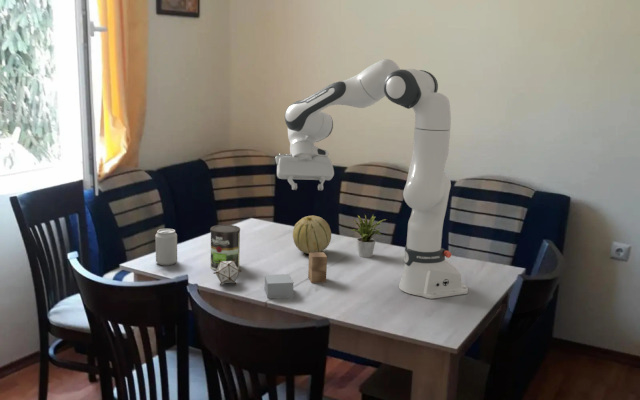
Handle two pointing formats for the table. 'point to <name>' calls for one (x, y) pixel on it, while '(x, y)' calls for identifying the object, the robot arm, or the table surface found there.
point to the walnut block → (317, 267)
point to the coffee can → (224, 244)
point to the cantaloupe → (311, 234)
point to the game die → (227, 271)
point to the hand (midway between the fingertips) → (307, 189)
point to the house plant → (366, 236)
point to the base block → (278, 286)
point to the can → (166, 247)
